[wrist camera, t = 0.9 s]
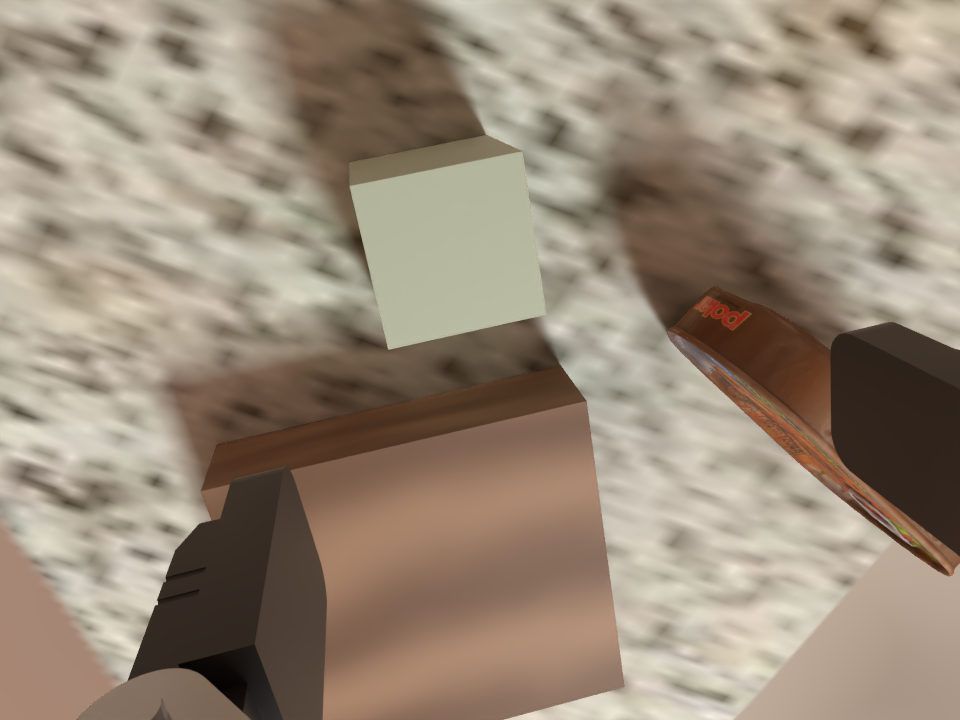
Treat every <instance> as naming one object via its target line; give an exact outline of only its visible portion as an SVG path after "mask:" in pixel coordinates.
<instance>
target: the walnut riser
mask: <svg viewBox="0 0 960 720" xmlns="http://www.w3.org/2000/svg"><path fill="white" fill-rule="evenodd" d="M285 466H287V467H288V468H289V469H290V471H291V473H292V475H293V477H294V480H295V483H296V486H297V489H298V492H299V495H300V498H301V501H302V505H303V508H304V511H305V514H306V517H307V520H308V523H309V527H310V530H311V533H312V536H313V539H314V542H315V545H316V549H317V552H318V555H319V558H320V562H321V565H322V570H323V574H324V580H325V586H326V595H327V618H326V644H325V670H324V696H323V720H504V719H507V718H511V717H515V716H518V715H522V714H526V713H530V712H533V711H537V710H541V709H544V708H548V707H552V706H555V705H559V704H563V703H567V702H570V701H574V700H578V699H581V698H585V697H589V696H593V695H596V694H600V693H604V692H607V691H611V690H615V689H619V688H622V687H624V680H623V672H622V665H621V657H620V650H619V642H618V635H617V627H616V620H615V612H614V605H613V597H612V590H611V582H610V575H609V567H608V560H607V552H606V544H605V537H604V529H603V522H602V514H601V507H600V499H599V492H598V484H597V477H596V469H595V462H594V454H593V447H592V439H591V431H590V424H589V416H588V409H587V401H586V400H585V398H584V397H583V396H582V394H581V393H580V391H579V390H578V389H577V387H576V386H575V385H574V383H573V382H572V380H571V379H570V378H569V376H568V375H567V374H566V372H565V371H564V369H563V368H562V367H561V366H558V367H554V368H549V369H545V370H541V371H536V372H532V373H527V374H523V375H519V376H514V377H510V378H506V379H501V380H497V381H493V382H488V383H484V384H480V385H475V386H471V387H466V388H462V389H458V390H453V391H449V392H445V393H440V394H436V395H432V396H427V397H423V398H418V399H414V400H410V401H405V402H401V403H397V404H392V405H388V406H384V407H379V408H375V409H371V410H366V411H362V412H357V413H353V414H349V415H344V416H340V417H336V418H331V419H327V420H323V421H318V422H314V423H310V424H305V425H301V426H296V427H292V428H288V429H283V430H279V431H275V432H270V433H266V434H262V435H257V436H253V437H248V438H244V439H240V440H235V441H231V442H227V443H222V444H218V445H217V447H216V450H215V452H214V455H213V458H212V461H211V464H210V467H209V469H208V472H207V475H206V478H205V481H204V484H203V486H202V489H201V493H202V496H203V498H204V501H205V504H206V507H207V509H208V512H209V515H210V517H211V520H212V521H213V520H217V519H220V517H221V514H222V510H223V507H224V503H225V500H226V497H227V493H228V490H229V486H230V483H231V481H232V480H233V479H235V478H239V477H243V476H248V475H252V474H256V473H260V472H264V471H268V470H272V469H277V468H281V467H285Z"/></svg>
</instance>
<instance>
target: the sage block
mask: <svg viewBox="0 0 960 720" xmlns="http://www.w3.org/2000/svg"><path fill="white" fill-rule="evenodd" d="M349 187H350V191H351V195H352V199H353V203H354V208H355V212H356V216H357V220H358V224H359V229H360V233H361V237H362V241H363V245H364V250H365V254H366V258H367V262H368V266H369V271H370V275H371V279H372V283H373V288H374V292H375V296H376V300H377V304H378V309H379V313H380V317H381V321H382V325H383V330H384V334H385V338H386V342H387V346H388V350H390V349H394V348H399V347H403V346H408V345H412V344H417V343H421V342H426V341H430V340H435V339H439V338H444V337H448V336H453V335H457V334H462V333H466V332H471V331H475V330H479V329H484V328H488V327H493V326H497V325H502V324H506V323H511V322H515V321H520V320H524V319H529V318H533V317H538V316H542V315H546V309H545V302H544V295H543V288H542V282H541V275H540V268H539V261H538V254H537V248H536V241H535V234H534V227H533V220H532V214H531V207H530V200H529V193H528V186H527V179H526V173H525V166H524V159H523V152H522V151H520V150H518V149H516V148H514V147H512V146H510V145H507V144H505V143H503V142H501V141H499V140H496V139H494V138H492V137H490V136H488V135H484V136H479V137H473V138H468V139H463V140H458V141H453V142H448V143H443V144H438V145H433V146H428V147H423V148H418V149H413V150H408V151H403V152H398V153H393V154H388V155H383V156H378V157H373V158H368V159H363V160H358V161H353V162H349Z"/></svg>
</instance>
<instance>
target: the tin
mask: <svg viewBox="0 0 960 720" xmlns="http://www.w3.org/2000/svg"><path fill="white" fill-rule="evenodd" d="M667 334H668V336H669V338H670V340H671V341H672V343H673V344H674V345H675V346H676V347H677V348H678V349H679V351H680V352H681V353H682V354H683V355H684V356H685V357H687V358H688V359H689V360H690V361H691V362H692V363H693V364H694V365H695V366H696V367H697V368H698V369H699V370H700V371H701V372H702V373H703V374H704V375H705V376H706V377H707V378H708V379H709V380H710V381H712V382H713V383H714V384H715V385H716V386H717V387H718V388H719V389H720V390H721V391H722V392H723V393H725V394H726V395H727V396H728V397H729V398H730V399H731V400H732V401H733V402H734V403H735V404H736V405H737V406H738V407H740V408H741V409H742V410H743V411H744V412H745V413H746V414H747V415H748V416H749V417H750V418H751V419H752V420H753V421H754V422H755V423H757V424H758V425H759V426H760V427H761V428H762V429H763V430H764V431H765V432H766V433H767V434H768V435H769V436H770V437H771V438H773V439H774V440H775V441H776V442H777V443H778V444H779V445H780V446H781V447H782V448H783V449H784V450H785V451H787V452H788V453H789V454H790V455H791V456H792V457H793V458H794V459H795V460H796V461H797V462H798V463H800V464H801V465H802V466H803V467H804V468H805V469H806V470H808V471H809V472H810V473H811V474H812V475H813V476H815V477H816V478H817V479H818V480H819V481H820V482H821V483H823V484H824V485H825V486H826V487H827V488H829V489H830V490H831V491H832V492H833V493H835V494H836V495H837V496H838V497H840V498H841V499H842V500H843V501H845V502H846V503H847V504H848V505H850V506H851V507H852V508H853V509H854V510H856V511H857V512H858V513H860V514H861V515H862V516H864V517H865V518H866V519H867V520H869V521H870V522H871V523H873V524H874V525H875V526H877V527H878V528H879V529H881V530H882V531H884V532H885V533H886V534H887V535H889V536H890V537H891V538H892V539H894V540H895V541H896V542H897V543H899V544H900V545H901V546H903V547H904V548H906V549H907V550H909V551H910V552H911V553H912V554H914V555H915V556H917V557H918V558H920V559H921V560H922V561H924V562H926V563H927V564H928V565H930V566H931V567H932V568H934V569H936V570H937V571H939V572H941V573H943V574H944V575H946V576H952V575H953V573H954V569H955V567H956V566H957V565H958V564H959V563H960V556H958V555H957V554H956V553H955V552H953V551H952V550H951V549H949V548H948V547H947V546H946V545H944V544H943V543H942V542H940V541H939V540H938V539H937V538H935V537H934V536H933V535H931V534H930V533H929V532H928V531H926V530H925V529H924V528H922V527H921V526H920V525H919V524H917V523H916V522H915V521H913V520H912V519H911V518H910V517H908V516H907V515H906V514H904V513H903V512H902V511H900V510H899V509H898V508H897V507H895V506H894V505H893V504H891V503H890V502H889V501H888V500H886V499H885V498H884V497H882V496H881V495H880V494H879V493H877V492H876V491H875V490H873V489H872V488H871V487H870V486H868V485H867V484H866V483H864V482H863V481H862V480H861V479H859V478H858V477H857V476H855V475H854V474H853V473H852V472H850V471H849V470H848V469H847V468H846V467H845V465H844V464H843V463H842V461H841V460H840V458H839V456H838V454H837V452H836V450H835V447H834V444H833V440H832V435H831V369H830V354H831V351H830V350H829V349H828V348H827V347H825V346H824V345H823V344H821V343H820V342H819V341H817V340H816V339H815V338H813V337H812V336H811V335H809V334H808V333H807V332H805V331H804V330H803V329H801V328H800V327H798V326H797V325H795V324H794V323H792V322H791V321H789V320H788V319H786V318H785V317H783V316H781V315H779V314H778V313H776V312H774V311H773V310H771V309H769V308H766V307H764V306H762V305H759V304H755V303H751V302H748V301H746V300H744V299H742V298H739V297H737V296H735V295H733V294H730V293H728V292H725V291H723V290H721V289H720V288H718V287H712V288H711V289H709V290H708V291H707V292H706V293H705V294H704V295H703V296H701V297H700V298H699V299H698V300H697V302H696V303H695V304H694V305H693V306H692V307H691V308H690V309H689V310H688V311H687V313H686V314H685V315H684V316H683V317H682V318H681V319H680V320H679V322H678V323H677V324H676V325H674V326H673V327H670V328H668V330H667Z"/></svg>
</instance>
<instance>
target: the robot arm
mask: <svg viewBox="0 0 960 720" xmlns="http://www.w3.org/2000/svg"><path fill="white" fill-rule="evenodd" d="M830 369H831V435H832V440H833V444H834V447H835V450H836V452H837V454H838V456H839V458H840V460H841V461H842V463H843V464H844V465H845V467H846V468H847V469H848V470H849V471H850V472H852V473H853V474H854V475H855V476H857V477H858V478H859V479H861V480H862V481H863V482H864V483H866V484H867V485H868V486H870V487H871V488H872V489H873V490H875V491H876V492H877V493H879V494H880V495H881V496H882V497H884V498H885V499H886V500H888V501H889V502H890V503H891V504H893V505H894V506H895V507H897V508H898V509H899V510H900V511H902V512H903V513H904V514H906V515H907V516H908V517H910V518H911V519H912V520H913V521H915V522H916V523H917V524H919V525H920V526H921V527H922V528H924V529H925V530H926V531H928V532H929V533H930V534H931V535H933V536H934V537H935V538H937V539H938V540H939V541H940V542H942V543H943V544H944V545H946V546H947V547H948V548H949V549H951V550H952V551H953V552H955V553H956V554H957V555H958V556H960V350H957V349H954V348H951V347H949V346H947V345H944V344H942V343H940V342H938V341H935V340H933V339H931V338H929V337H926V336H924V335H922V334H920V333H917V332H915V331H913V330H910V329H908V328H906V327H904V326H901V325H899V324H897V323H893V322H888V323H883V324H879V325H875V326H871V327H867V328H863V329H858V330H854V331H850V332H846V333H842V334H839V335H838V336H837V337H836V338H835V339H834V341H833V343H832V346H831V354H830ZM157 601H158V605H156V606H155V607H154V610H153V613H152V616H151V618H150V621H149V624H148V626H147V629H146V632H145V635H144V637H143V640H142V643H141V646H140V648H139V651H138V654H137V657H136V659H135V662H134V665H133V667H132V670H131V673H130V676H129V678H128V681H127V682H125V683H123V684H121V685H119V686H117V687H116V688H114V689H112V690H111V691H109V692H108V693H106V694H105V695H103V696H102V697H101V698H99V699H98V700H97V701H95V702H94V703H93V704H92V705H90V706H89V707H88V708H87V709H86V710H85V711H84V712H83V713H82V714H81V715H80V716H79V717H78V718H77V719H76V720H323V696H324V670H325V644H326V618H327V595H326V586H325V580H324V574H323V570H322V565H321V562H320V558H319V555H318V552H317V549H316V545H315V542H314V539H313V536H312V533H311V530H310V527H309V523H308V520H307V517H306V514H305V511H304V508H303V505H302V501H301V498H300V495H299V492H298V489H297V486H296V483H295V480H294V477H293V475H292V473H291V471H290V469H289V468H288V467H287V466H285V467H281V468H277V469H272V470H268V471H264V472H260V473H256V474H252V475H248V476H243V477H239V478H235V479H233V480H232V481H231V483H230V486H229V490H228V493H227V497H226V500H225V503H224V507H223V510H222V514H221V517H220V519H217V520H213V521H209V522H205V523H201V524H199V525H198V526H197V527H196V528H195V529H194V530H193V531H192V533H191V534H190V535H189V536H188V537H187V538H186V539H185V540H184V541H183V542H182V544H181V545H180V546H179V547H178V548H177V549H176V550H175V553H174V555H173V558H172V561H171V564H170V566H169V569H168V572H167V575H166V582H164V583H163V585H162V588H161V591H160V594H159V596H158V599H157Z"/></svg>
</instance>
